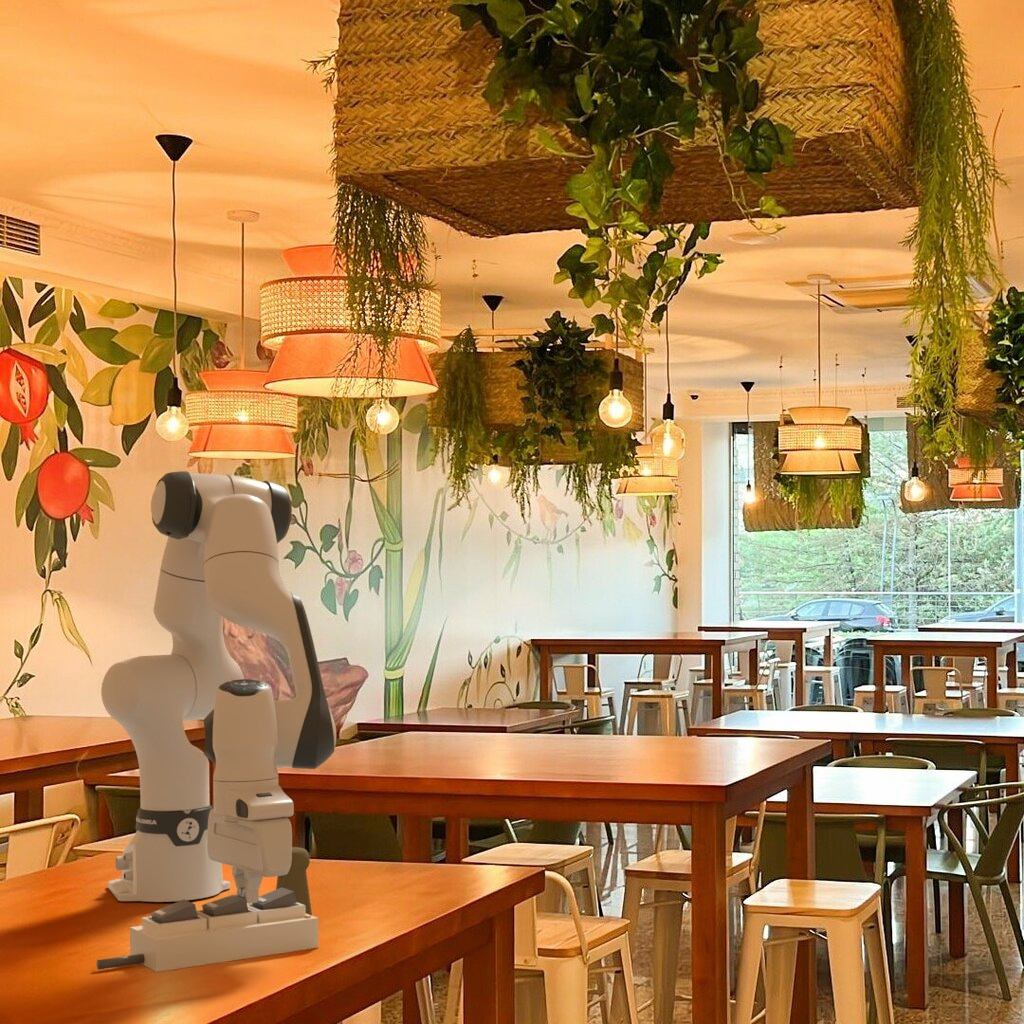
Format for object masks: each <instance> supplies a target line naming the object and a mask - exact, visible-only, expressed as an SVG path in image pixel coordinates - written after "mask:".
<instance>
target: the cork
mask: <svg viewBox="0 0 1024 1024" xmlns="http://www.w3.org/2000/svg"><path fill="white" fill-rule="evenodd" d="M310 859H311V858H310V853H309V852H308V850H307V849H305V848H303V847H298V846H292V861H291V867H290V869H289V872H288V874H286V875H282V876H277V879H276V888H275V890H277V889H279V888H281V887H283V888H286V889H288V890H291V891H294V893H295V897H296V901H297V902H298V903H301V904H303V905H305V906H306V914H309V915H311V916H313V913H312V905H311V899H310V889H309V884H308V883H309V882H308V877H307V875H308V874H307V869H308V868H309V866H310V863H311V861H310Z"/></svg>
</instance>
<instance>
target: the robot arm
mask: <svg viewBox="0 0 1024 1024" xmlns="http://www.w3.org/2000/svg"><path fill="white" fill-rule="evenodd" d="M292 507H293V506H292V500H291V497H290V495H289V493H288V491H287V489H286V488H285V487H283V486H281V485H280V484H277V483H274V482H271V481H268V480H263V481H261V480H258V479H254V478H249V477H244V476H239V475H232V474H227V473H226V474H215V473H199V472H198V473H197V472H195V473H194V472H193V473H190V472H189V471H187V470H183V471H172V472H167V473H164V475H163V476H162V477H161V478H160V479H159V480H158V481H157V483H156V485H155V488H154V491H153V493H152V496H151V501H150V512H151V521H152V523H153V524H152V525H154V527H155V528H156V529H157V531H158V533H160V534H162V535H164V536H166V537H167V541H166V542H165V543H166V544H165V548H164V550H163V551H164V552H163V555H162V560H161V565H160V570H159V576H158V582H157V588H156V594H155V600H154V605H153V613H154V617H155V619H156V621H157V622H158V624H159V625H160V626H161V627H162V628H163V629H165V630H166V631H168V632H169V633H170V634H171V638H172V649H171V653H170V654H158V655H157V654H155V655H138V656H135V657H132V658H129V659H128V658H127V659H125V660H122V661H118V662H115V663H113V664H112V665H111V666H110V667H109V668H108V670H107V671H106V673H105V674H104V677H103V680H102V682H101V691H100V693H101V700H102V704H103V706H104V709H105V711H106V712H107V714H109V716H110V717H111V718H112V719H113V720H115V722H117V723H118V724H120V725H121V727H122V728H123V729H124V730H125V731H126V734H127V735H128V736H129V738H130V741H131V743H132V745H133V747H134V750H135V753H136V757H137V761H138V762H137V763H138V773H139V790H140V793H139V795H140V796H139V797H140V801H139V802H140V807H139V808H138V809H137V815H136V817H135V821H136V823H135V830H136V831H135V834H134V836H132V839H131V840H130V841H129V843H128V845H126V847H125V849H124V850H123V852H122V855H117V856H116V857H115V863H114V864H115V870H116V871H121V878H116V879H112V880H109V881H108V882H107V888H108V890H110V893H112V895H113V896H114V897H115V898H116V900H117V901H119V902H149V903H150V902H151V903H152V902H153V903H163V902H164V903H165V902H167V903H168V902H179V901H181V900H186V901H192V900H193V901H194V900H198V899H204V898H205V899H206V898H209V897H210V898H211V897H213V896H216V895H219V894H220V893H221V892H222V891H225V890H228V889H230V888H231V881H228V880H224V878H223V864H224V865H226V866H229V867H231V868H232V877H233V880H234V884H235V886H236V895H238V896H240V897H243V898H245V899H246V901H247V904H252V903H256V902H258V900H259V897H260V895H259V893H260V887H261V884H262V881H263V879H264V878H275V877H278V876H282V875H286V874H288V872H289V869H290V867H291V861H292V847H293V829H292V824H291V823H292V822H291V820H290V818H288V817H292V816H293V815H294V814H295V813H294V809H295V808H294V807H295V806H294V801H293V800H292V799H291V798H290V797H289V796H288V795H287V794H286V793H285V792H284V790H283V789H282V787H281V785H279V772H278V769H281V768H292V769H300V770H301V769H303V770H306V769H307V770H316V769H317V768H319V767H320V766H321V765H323V764H324V763H326V761H327V760H328V759H329V758H330V757H331V756H332V755H333V754H334V752H335V748H336V742H337V729H336V728H337V727H336V723H335V718H334V716H333V713H332V710H331V708H330V706H329V704H328V700H327V696H326V691H325V688H324V683H323V678H322V675H321V670H320V667H319V660H318V656H317V652H316V648H315V643H314V640H313V635H312V630H311V626H310V624H309V620H308V614H307V613H306V612H307V611H306V609H305V606H304V604H303V602H302V600H301V598H300V597H299V596H298V595H296V594H295V593H292V592H290V591H289V589H288V588H287V587H286V585H285V584H284V581H283V580H282V577H281V572H280V566H279V565H280V563H279V560H280V559H279V550H278V549H279V548H278V544H279V543H280V542H281V541H283V539H285V537H286V536H287V533H288V532H289V529H290V526H291V522H292V514H293V512H292V511H293V510H292V509H293V508H292ZM224 619H226V620H227V621H228V622H229V621H230V622H231V623H233V624H235V625H237V626H240V627H242V628H245V629H250V630H252V631H256V632H258V633H261V634H264V635H266V636H268V637H271V638H272V639H274V640H275V641H277V642H279V643H280V644H281V645H282V646H283V648H284V649H285V651H286V653H287V657H288V661H289V665H290V670H291V675H292V680H293V684H294V689H295V693H296V696H295V697H294V698H291V699H281V700H279V699H278V700H277V699H274V698H275V697H274V693H273V688H272V686H271V685H270V684H269V683H267V682H265V681H263V680H260V679H259V680H258V679H252V678H250V679H249V678H245V679H244V674H243V672H242V668H241V667H240V665H239V664H238V662H237V661H236V660H235V659H234V658H232V656H231V655H230V652H229V651H228V649H227V646H226V643H225V637H224V628H223V627H224V626H223V624H224V623H223V620H224ZM193 720H194V721H195V720H203V727H204V742H205V743H204V751H202V749H200V748H198V747H197V746H195V745H193V744H192V743H191V742H190V741H189V739H188V736H187V735H186V731H185V726H184V722H185V721H193ZM210 762H212V763H214V765H215V768H214V772H213V776H212V777H213V778H212V780H213V781H212V783H213V784H212V785H213V786H212V787H213V789H212V790H213V793H212V794H213V806H212V805H211V804H210ZM263 877H264V878H263Z"/></svg>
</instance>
